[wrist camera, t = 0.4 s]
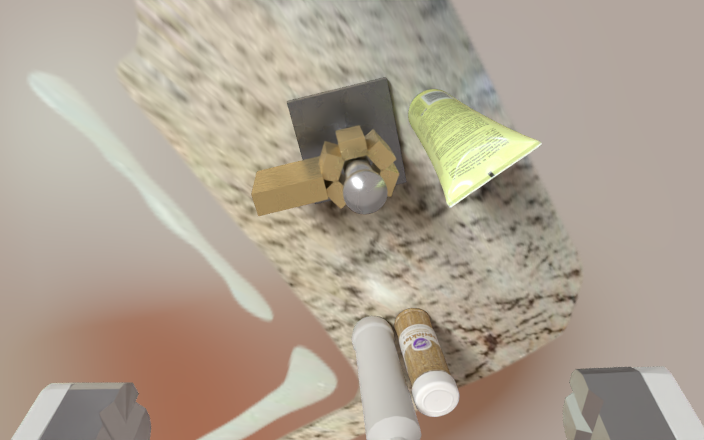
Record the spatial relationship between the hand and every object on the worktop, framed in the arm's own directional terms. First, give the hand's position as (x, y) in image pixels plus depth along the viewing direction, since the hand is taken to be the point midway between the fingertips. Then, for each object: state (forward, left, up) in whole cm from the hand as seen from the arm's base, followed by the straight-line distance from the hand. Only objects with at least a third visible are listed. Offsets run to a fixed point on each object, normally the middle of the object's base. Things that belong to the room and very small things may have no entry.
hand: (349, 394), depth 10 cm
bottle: (+32, 0, -45) cm, 55 cm away
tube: (+7, +11, -45) cm, 47 cm away
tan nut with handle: (+8, -1, -39) cm, 39 cm away
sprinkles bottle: (+32, +5, -45) cm, 55 cm away
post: (+8, +2, -45) cm, 45 cm away
